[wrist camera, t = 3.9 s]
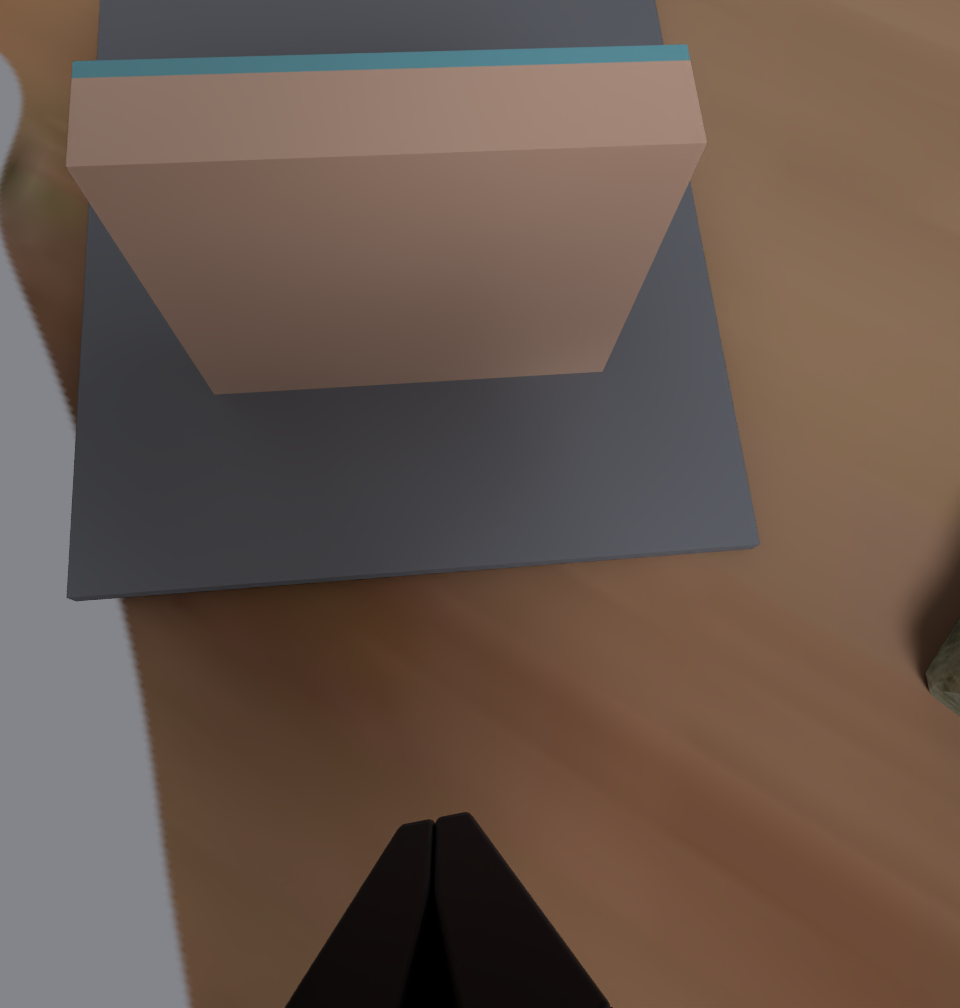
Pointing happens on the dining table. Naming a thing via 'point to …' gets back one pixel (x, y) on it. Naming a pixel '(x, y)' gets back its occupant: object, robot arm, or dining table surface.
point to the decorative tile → (947, 672)
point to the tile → (389, 205)
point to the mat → (393, 385)
